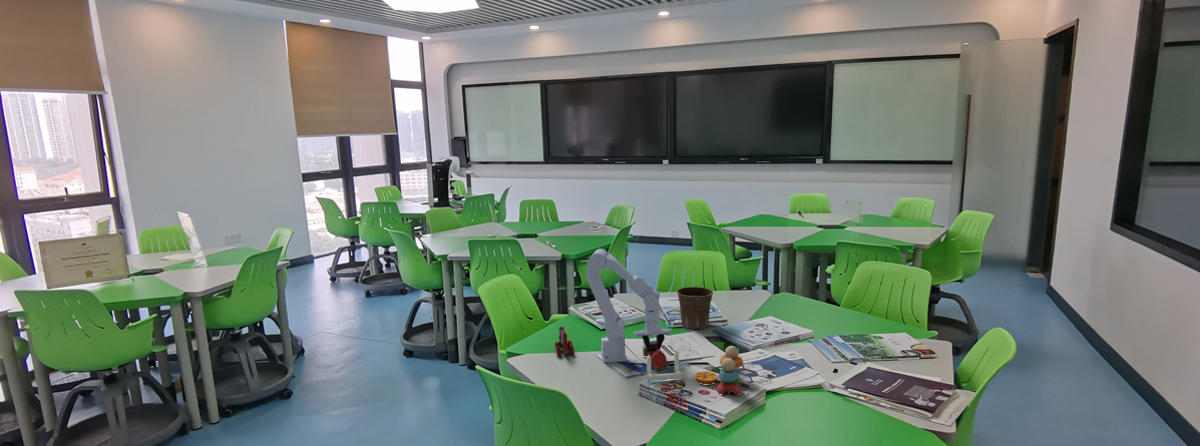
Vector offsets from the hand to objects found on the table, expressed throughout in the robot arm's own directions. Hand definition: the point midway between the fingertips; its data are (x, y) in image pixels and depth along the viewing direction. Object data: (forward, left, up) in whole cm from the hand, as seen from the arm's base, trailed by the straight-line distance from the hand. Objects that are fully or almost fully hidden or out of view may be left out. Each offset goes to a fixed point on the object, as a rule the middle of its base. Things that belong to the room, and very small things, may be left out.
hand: (653, 353), depth 231 cm
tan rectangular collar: (0, +4, -3) cm, 5 cm away
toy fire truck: (-34, +16, -3) cm, 37 cm away
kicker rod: (0, +4, -3) cm, 5 cm away
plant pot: (+27, +35, -3) cm, 45 cm away
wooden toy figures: (+18, -28, -3) cm, 33 cm away
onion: (0, -10, -3) cm, 10 cm away
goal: (0, -18, -3) cm, 18 cm away
